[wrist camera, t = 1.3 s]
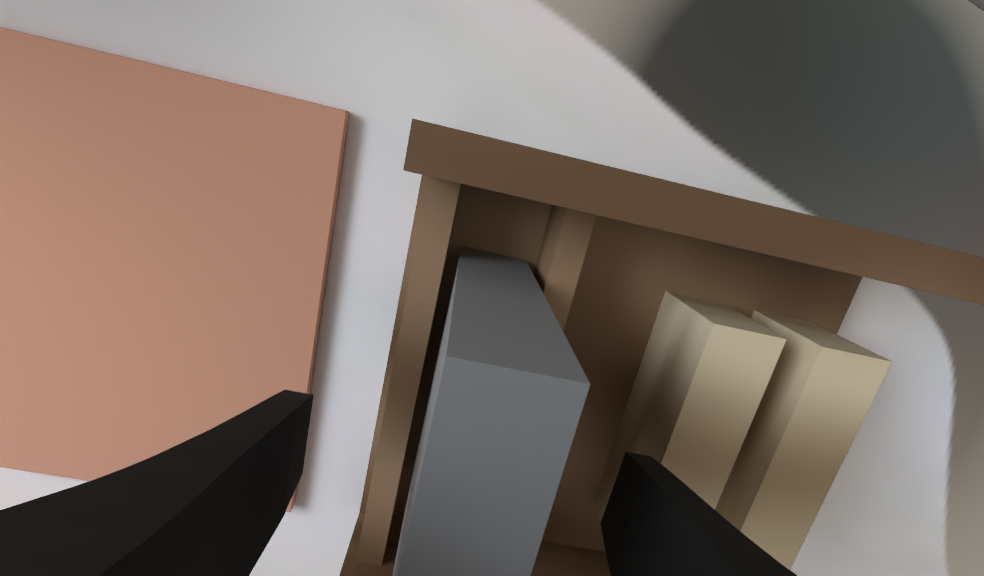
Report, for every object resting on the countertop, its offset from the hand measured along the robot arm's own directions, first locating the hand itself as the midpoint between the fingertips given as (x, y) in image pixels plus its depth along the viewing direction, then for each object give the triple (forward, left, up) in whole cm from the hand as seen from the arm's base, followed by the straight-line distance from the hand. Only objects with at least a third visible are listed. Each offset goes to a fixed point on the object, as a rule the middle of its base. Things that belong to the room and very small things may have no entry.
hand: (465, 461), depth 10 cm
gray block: (0, 0, -5) cm, 5 cm away
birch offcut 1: (0, -6, -5) cm, 8 cm away
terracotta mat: (0, +10, -6) cm, 12 cm away
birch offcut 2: (0, -9, -5) cm, 11 cm away
